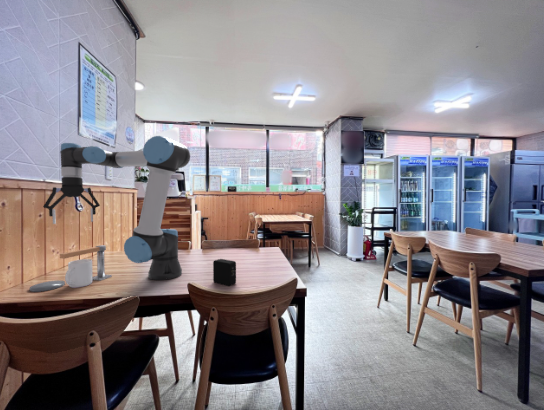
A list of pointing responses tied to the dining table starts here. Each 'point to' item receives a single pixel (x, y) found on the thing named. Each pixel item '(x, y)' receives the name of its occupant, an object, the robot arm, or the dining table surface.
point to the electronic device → (224, 272)
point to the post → (100, 267)
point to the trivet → (47, 286)
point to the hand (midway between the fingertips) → (73, 222)
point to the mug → (79, 273)
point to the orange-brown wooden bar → (82, 251)
